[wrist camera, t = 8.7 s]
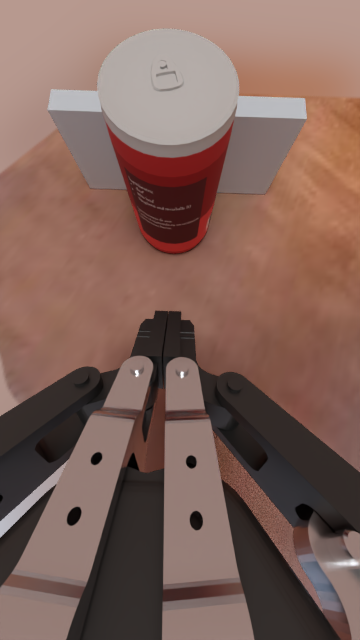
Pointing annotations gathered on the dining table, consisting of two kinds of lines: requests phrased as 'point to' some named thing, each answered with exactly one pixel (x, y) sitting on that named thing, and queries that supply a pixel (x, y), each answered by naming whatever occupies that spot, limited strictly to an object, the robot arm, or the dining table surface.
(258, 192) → the stop board
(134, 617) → the robot arm
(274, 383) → the dining table surface
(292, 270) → the dining table surface
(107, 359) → the dining table surface
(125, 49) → the canned food
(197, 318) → the dining table surface
